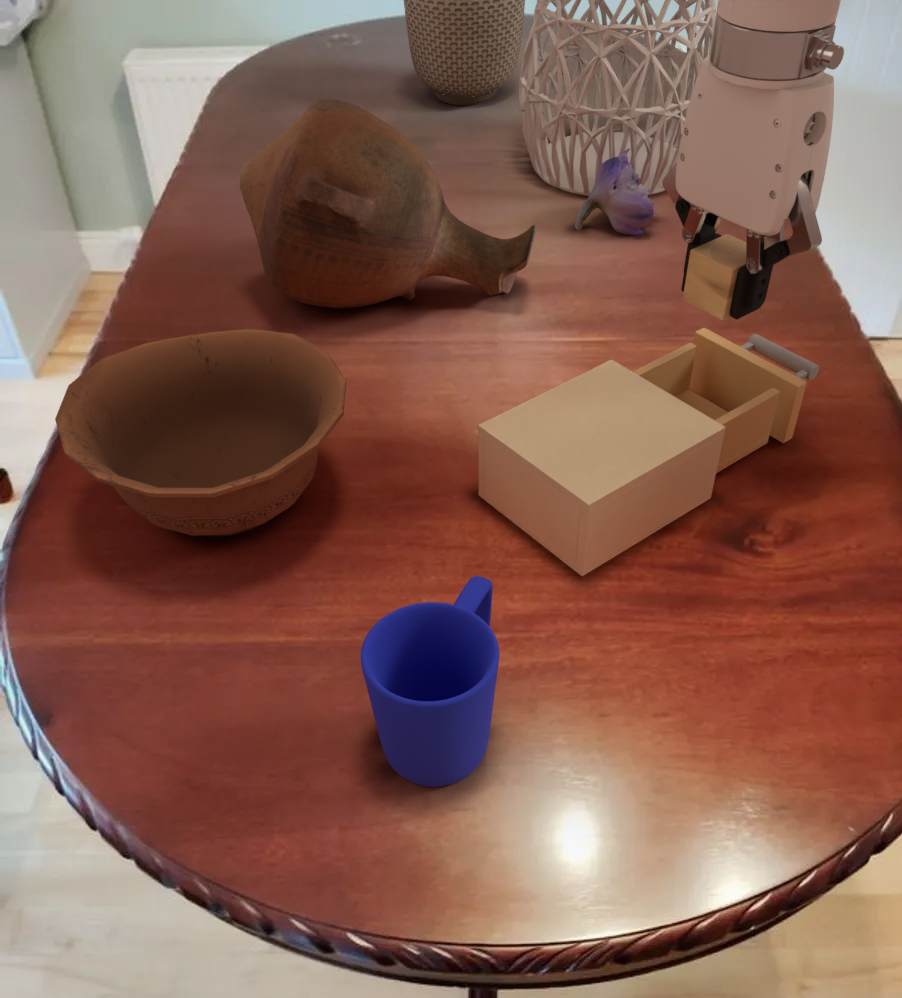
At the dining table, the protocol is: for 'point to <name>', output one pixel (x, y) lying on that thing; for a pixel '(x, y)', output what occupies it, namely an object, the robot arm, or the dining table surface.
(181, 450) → the bowl
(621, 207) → the flower
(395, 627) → the mug
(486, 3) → the planter
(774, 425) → the drawer
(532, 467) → the cabinet
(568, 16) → the vase
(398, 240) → the jug
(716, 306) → the block
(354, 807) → the dining table surface
